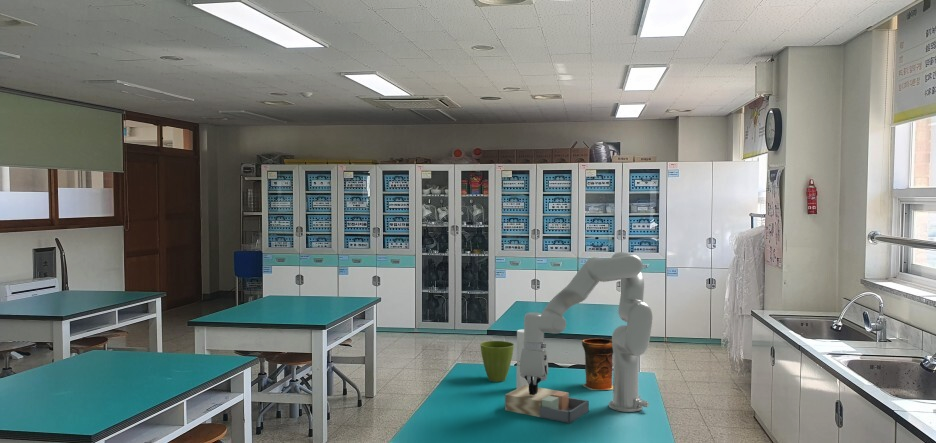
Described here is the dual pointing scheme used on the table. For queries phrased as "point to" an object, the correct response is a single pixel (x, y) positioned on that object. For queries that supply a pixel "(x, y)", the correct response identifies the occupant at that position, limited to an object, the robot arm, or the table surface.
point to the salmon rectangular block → (562, 400)
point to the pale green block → (551, 402)
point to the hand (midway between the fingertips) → (533, 394)
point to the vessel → (598, 363)
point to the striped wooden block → (526, 400)
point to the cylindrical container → (520, 346)
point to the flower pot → (497, 359)
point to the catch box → (566, 411)
